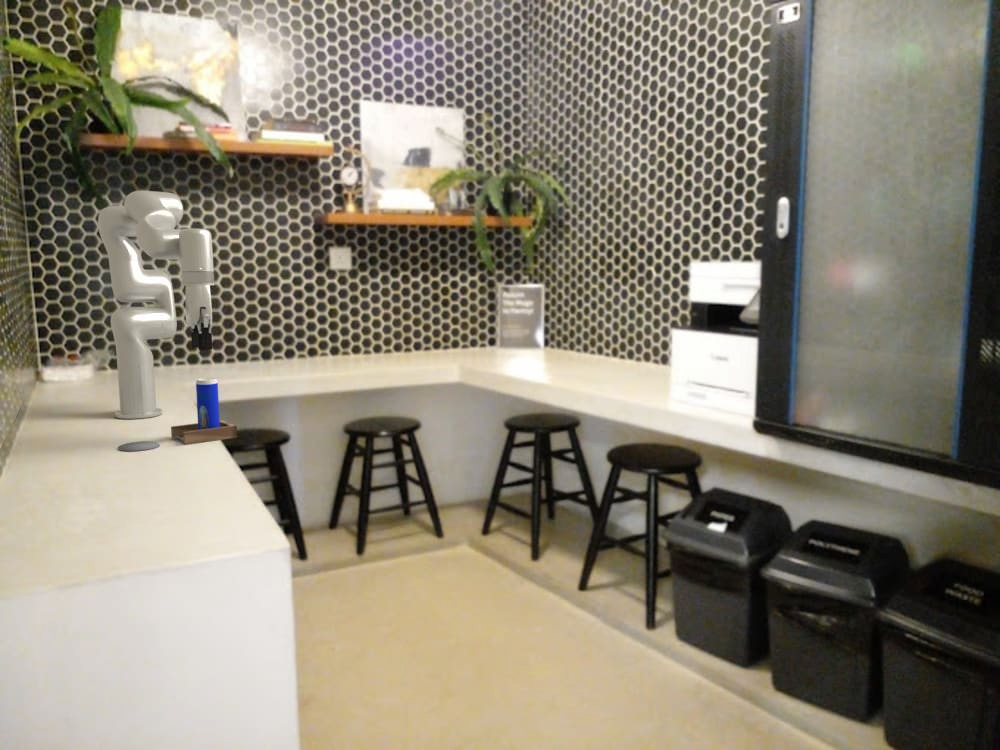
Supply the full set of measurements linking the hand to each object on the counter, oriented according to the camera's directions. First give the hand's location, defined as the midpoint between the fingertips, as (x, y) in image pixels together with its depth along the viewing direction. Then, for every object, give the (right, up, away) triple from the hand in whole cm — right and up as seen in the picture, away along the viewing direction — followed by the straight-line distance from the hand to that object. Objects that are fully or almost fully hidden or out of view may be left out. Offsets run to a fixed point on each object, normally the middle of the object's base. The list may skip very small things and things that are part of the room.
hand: (202, 348), depth 187 cm
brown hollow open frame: (-1, -23, +4) cm, 23 cm away
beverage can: (0, -23, +5) cm, 23 cm away
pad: (-13, -24, -6) cm, 28 cm away
